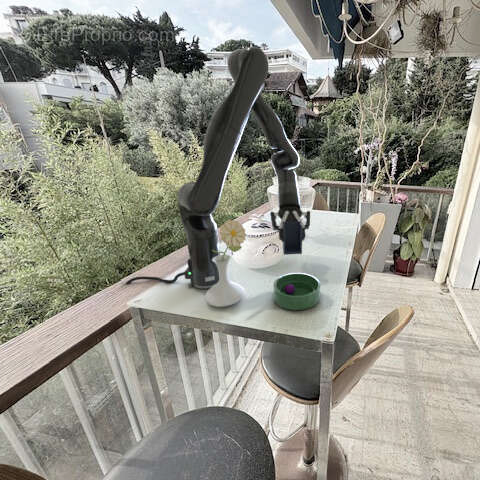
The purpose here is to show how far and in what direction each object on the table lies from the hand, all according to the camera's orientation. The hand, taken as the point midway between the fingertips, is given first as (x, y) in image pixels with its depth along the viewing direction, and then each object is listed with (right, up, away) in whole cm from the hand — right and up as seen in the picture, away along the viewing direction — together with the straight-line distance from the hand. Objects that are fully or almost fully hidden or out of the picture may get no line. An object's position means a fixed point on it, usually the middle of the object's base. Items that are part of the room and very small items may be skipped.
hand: (292, 240), depth 88 cm
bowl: (+2, -18, -5) cm, 19 cm away
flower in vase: (-19, -18, -6) cm, 27 cm away
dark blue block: (-1, -4, +3) cm, 5 cm away
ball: (-1, -15, -4) cm, 16 cm away
